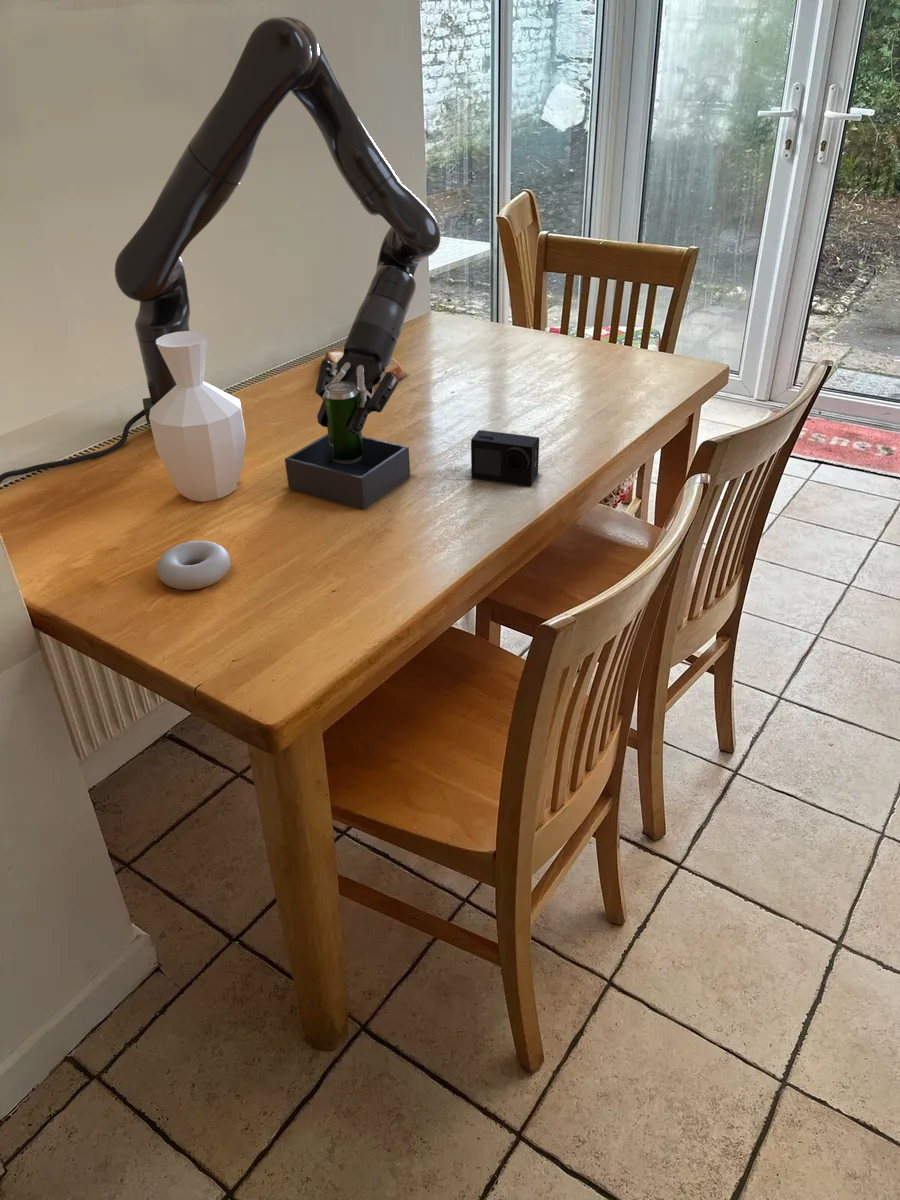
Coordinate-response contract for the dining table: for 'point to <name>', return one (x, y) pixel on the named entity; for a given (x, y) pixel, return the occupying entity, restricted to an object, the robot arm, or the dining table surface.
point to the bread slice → (392, 368)
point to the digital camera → (504, 457)
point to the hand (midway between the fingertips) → (337, 428)
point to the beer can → (342, 422)
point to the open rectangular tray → (348, 472)
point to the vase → (197, 423)
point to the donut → (193, 565)
